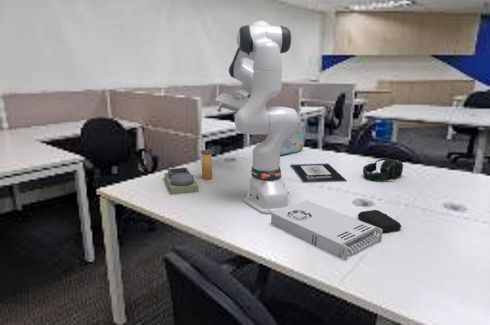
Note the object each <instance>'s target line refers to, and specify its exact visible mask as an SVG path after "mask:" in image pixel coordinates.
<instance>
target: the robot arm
mask: <svg viewBox="0 0 490 325" xmlns="http://www.w3.org/2000/svg"><path fill="white" fill-rule="evenodd" d="M292 42H293V38H292V32H291V30H290V29H289V27H287V26H283V25H280V26H277V25H271V24H269V22H267V21H265V20H257V21H255V22H253V23H252V25H249V24H246V25H242V26H240V28H239V29H238V32H237V34H236V44H237V46H238V47H237V49H236V52H235V53H234V54H235V55H234V57H233V59H232V61H231V63H230V65H229V68H228V73H229V76H230V77H231V78H233V79H235V80H237V81H239V82H240V83H242V84H241V85H240V86H239V87H238V88H237V89H236V90H234V92H233V93H232V94H230V93H227V92H225V93H221V94H220V95H218V96H216V98H215V99H214V104H215V106H217V109H216V111H217V112H219V113H220V112H222V109H225V110H229V111H232V112H234V113H233V118H234V125H235V128H236V130H237V132H239V133H241V134H244V135H250V136H253V135H255V136H256V135H267V137H266V138H265V139H264V140H263V141H261V142H259V143H258V144H256V145H255V147H253V149H252V166H251V178H250V179H249V181H248V185H247V194H246V196H247V197H245V198H244V200H243V202H244V203H246V204H247V205H248V206H250V207H252V208H253V209H254V210H256V211H258V212H259V213H261V214H267V215H269V214H271V212H274V211H277V210H280V209H283V208H286V207H289V206H292V205H293V203H292V202H291V200H290V199H289V195H290V189H289V188H286V183H284V181H283V179H282V170H281V167H280V165H281V164H280V162H281V155H280V153H281V148H282V145H283V143H284V141H285V140H286V138H287V137H288V136H289V135H290V134H291V133H293V132H294V131H295V130H296V129H297V127H298V124H299V121H300V117H299V114H298V112H297V110H295V109H294V108H291V107H285V106H266V105H267V102H268V101H269V100H270V99H272V98H274V97H276V96H278V95H279V94H280V93H281V91H282V72H283V71H282V64H283V63H282V56H281V54H284V53H285V54H286V53H287V52H289V50H290V48H291V45H292ZM244 59H247V60H250V61H252V62H253V65H251V64H250V63H248V62H247V61H245V60H244Z"/></svg>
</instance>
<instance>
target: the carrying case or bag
mask: <svg viewBox="0 0 490 325" xmlns="http://www.w3.org/2000/svg"><path fill="white" fill-rule="evenodd" d="M357 218H358V220H359V221H362V222H365V223H367V224H370V225H373V226H375V227H378V228H381V229H382V230H383V232H384V233H389V232H388V231H390V232H394V230H396V231H399V230H400V229H401V228H402V225H401V223H400V222H399V221H397V220H396V219H394V218H392V217H391V216H389V215H388V214H387V213H384V212H382V211H380V210H377V209H372V210H364V211H359V213H358V214H357Z"/></svg>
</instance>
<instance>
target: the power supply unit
mask: <svg viewBox="0 0 490 325" xmlns="http://www.w3.org/2000/svg"><path fill="white" fill-rule="evenodd" d="M270 221H271V222H270V223H271V225H273V226H274V227H277V228H279V229H281V230H283V231H284V232H285V231H286V232H287V233H289V234H291V235H294V236H295V237H297V238H300V239H301V240H303V241H306V242H308V243H309V244H313V245H314V246H316V247H318V248H320V249H323V250H324V251H327V252H328V253H331V254H333V255H335V256H337V257H340V259H343V260H345V261H347V260H348V259H349V258H351V257H353V256H355V255H358V253H361V252H362V251H365V250H366V249H368V248H370V247H372V246H374V245H375V244H376V245H377V243H382V242H381V241H382V239H383V233H382V232H383V230H382V229H381V228H378V227H375V226H373V225H370V224H367V223H365V222H363V221H362V220H360V219H356V218H354V217H351V216H348V215H346V214H343V213H341V212H339V211H336V210H333V209H330V208H327V207H325V206H322V205H319V204H318V203H314V202H312V201H309V200H303V201H301V202H298V203H294V204H292V206H289V207H286V208H283V209H280V210H277V211H274V212H271V218H270Z"/></svg>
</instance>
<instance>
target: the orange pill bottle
mask: <svg viewBox="0 0 490 325" xmlns="http://www.w3.org/2000/svg"><path fill="white" fill-rule="evenodd" d="M200 153H201V154H200V156H201V180H203V179H204V181H210V180H213V159H212V158H213V156H212V154H213V150H212V149H201V150H200Z"/></svg>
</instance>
